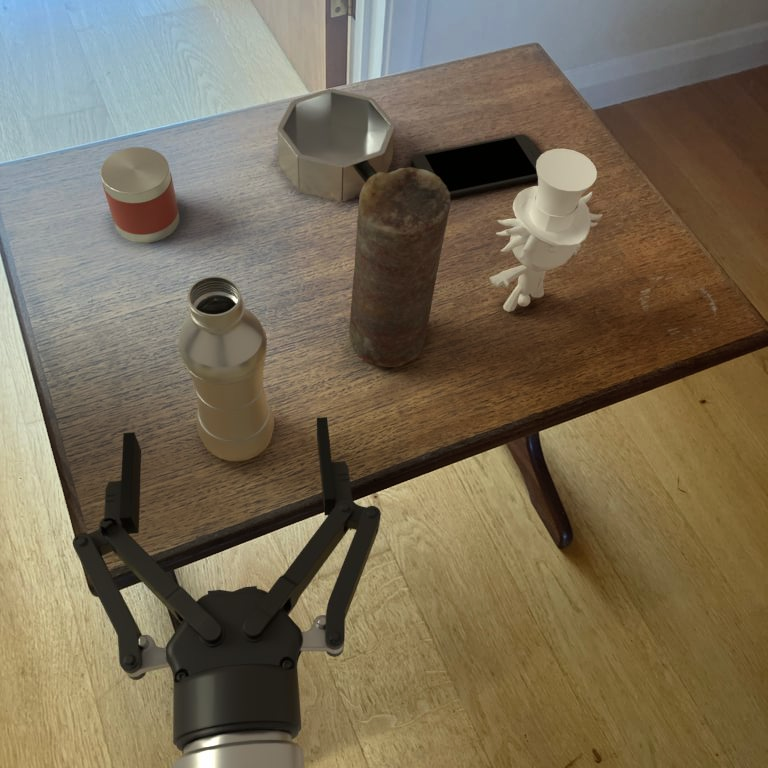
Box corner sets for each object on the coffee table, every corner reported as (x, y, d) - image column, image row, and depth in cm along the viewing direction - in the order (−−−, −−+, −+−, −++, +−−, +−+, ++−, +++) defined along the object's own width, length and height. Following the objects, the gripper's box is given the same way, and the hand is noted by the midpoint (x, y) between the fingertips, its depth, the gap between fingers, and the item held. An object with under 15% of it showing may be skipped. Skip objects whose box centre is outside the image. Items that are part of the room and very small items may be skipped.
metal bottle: (225, 395, 75) (197, 246, 59) (289, 425, 74) (280, 282, 57) (185, 450, 72) (144, 309, 55) (252, 482, 71) (231, 348, 54)
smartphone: (407, 159, 94) (408, 153, 93) (525, 136, 98) (527, 130, 97) (430, 204, 90) (431, 198, 90) (552, 179, 94) (554, 173, 93)
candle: (425, 377, 78) (453, 229, 61) (348, 375, 77) (355, 225, 61) (422, 314, 82) (448, 159, 65) (349, 311, 82) (356, 155, 65)
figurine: (503, 351, 80) (546, 220, 65) (459, 298, 83) (489, 161, 68) (585, 310, 84) (643, 176, 69) (539, 260, 87) (584, 123, 72)
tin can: (103, 235, 85) (87, 184, 79) (131, 191, 89) (117, 140, 83) (164, 250, 85) (152, 200, 79) (189, 205, 88) (180, 155, 82)
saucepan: (265, 145, 94) (262, 109, 90) (356, 115, 98) (358, 79, 94) (340, 250, 86) (340, 216, 82) (436, 213, 90) (441, 178, 86)
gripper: (36, 783, 50) (64, 472, 61) (438, 731, 53) (393, 444, 64) (-5, 764, 44) (34, 421, 55) (454, 706, 47) (401, 393, 58)
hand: (228, 433), depth 60 cm, fingers open, 13 cm apart
